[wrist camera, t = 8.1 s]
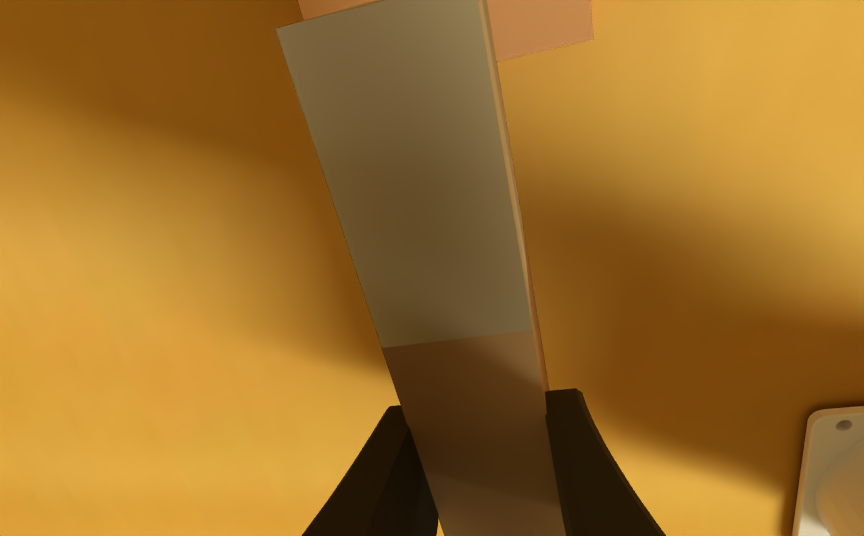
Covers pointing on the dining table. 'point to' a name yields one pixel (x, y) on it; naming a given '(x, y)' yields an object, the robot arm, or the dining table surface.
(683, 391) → the dining table surface
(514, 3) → the tile
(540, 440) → the two-tone flat stick
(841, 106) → the dining table surface
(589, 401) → the dining table surface
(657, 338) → the dining table surface
